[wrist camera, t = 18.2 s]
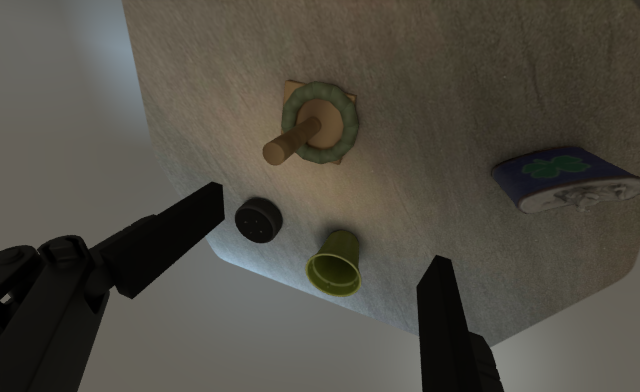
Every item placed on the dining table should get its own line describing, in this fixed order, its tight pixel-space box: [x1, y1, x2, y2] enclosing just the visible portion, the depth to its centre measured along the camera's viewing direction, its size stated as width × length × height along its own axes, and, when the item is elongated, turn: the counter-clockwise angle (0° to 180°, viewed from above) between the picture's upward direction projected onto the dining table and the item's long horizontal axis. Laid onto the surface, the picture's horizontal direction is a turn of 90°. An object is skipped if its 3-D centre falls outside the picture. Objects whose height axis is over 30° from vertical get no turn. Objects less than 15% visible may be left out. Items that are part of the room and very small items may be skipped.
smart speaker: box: [235, 199, 282, 243], centre depth 46 cm, size 9×9×4 cm
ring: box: [281, 81, 359, 164], centre depth 33 cm, size 11×11×2 cm
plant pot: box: [305, 230, 361, 297], centre depth 41 cm, size 9×9×9 cm
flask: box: [492, 145, 640, 214], centre depth 25 cm, size 9×3×11 cm, turn 115°
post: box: [263, 80, 357, 165], centre depth 29 cm, size 10×10×14 cm
